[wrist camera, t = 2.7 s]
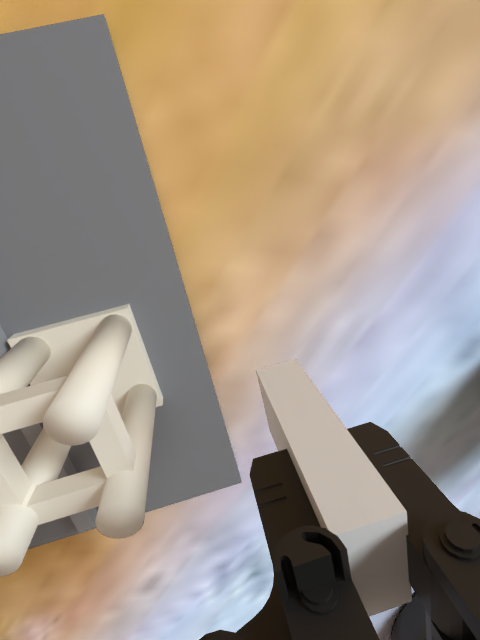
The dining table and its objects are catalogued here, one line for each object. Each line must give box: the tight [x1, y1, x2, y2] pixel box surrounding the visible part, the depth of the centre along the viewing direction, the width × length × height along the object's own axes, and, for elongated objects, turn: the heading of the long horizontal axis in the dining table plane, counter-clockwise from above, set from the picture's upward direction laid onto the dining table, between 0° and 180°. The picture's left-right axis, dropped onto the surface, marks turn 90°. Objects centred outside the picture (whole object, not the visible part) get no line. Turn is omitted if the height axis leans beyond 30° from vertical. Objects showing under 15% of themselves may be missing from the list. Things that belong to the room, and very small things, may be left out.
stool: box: [0, 304, 163, 577], centre depth 15 cm, size 6×6×9 cm
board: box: [0, 14, 241, 549], centre depth 18 cm, size 26×18×1 cm
